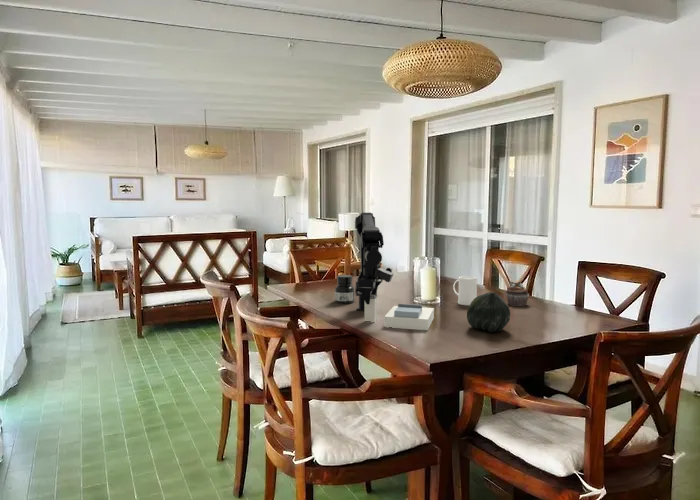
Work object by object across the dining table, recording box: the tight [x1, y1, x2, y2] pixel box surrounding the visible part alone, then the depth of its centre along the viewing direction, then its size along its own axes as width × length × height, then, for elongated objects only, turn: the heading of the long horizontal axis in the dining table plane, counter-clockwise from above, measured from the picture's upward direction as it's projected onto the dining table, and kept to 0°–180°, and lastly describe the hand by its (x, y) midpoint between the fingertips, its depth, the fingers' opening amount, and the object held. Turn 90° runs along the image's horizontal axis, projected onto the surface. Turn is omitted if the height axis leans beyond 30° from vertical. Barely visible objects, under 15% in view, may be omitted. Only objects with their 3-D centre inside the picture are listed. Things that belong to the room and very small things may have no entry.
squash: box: [466, 291, 511, 333], centre depth 180 cm, size 14×15×15 cm
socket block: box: [383, 305, 435, 331], centre depth 191 cm, size 19×16×4 cm
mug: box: [452, 275, 478, 306], centre depth 226 cm, size 12×8×12 cm
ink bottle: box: [334, 274, 355, 304], centre depth 228 cm, size 10×9×12 cm
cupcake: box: [505, 281, 530, 307], centre depth 223 cm, size 10×10×10 cm
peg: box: [364, 294, 378, 323], centre depth 193 cm, size 4×4×10 cm
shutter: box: [394, 303, 423, 318], centre depth 187 cm, size 8×9×3 cm
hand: (370, 301), depth 193 cm, fingers open, 9 cm apart
